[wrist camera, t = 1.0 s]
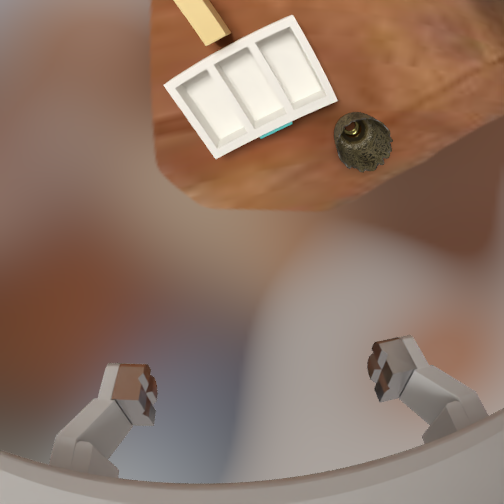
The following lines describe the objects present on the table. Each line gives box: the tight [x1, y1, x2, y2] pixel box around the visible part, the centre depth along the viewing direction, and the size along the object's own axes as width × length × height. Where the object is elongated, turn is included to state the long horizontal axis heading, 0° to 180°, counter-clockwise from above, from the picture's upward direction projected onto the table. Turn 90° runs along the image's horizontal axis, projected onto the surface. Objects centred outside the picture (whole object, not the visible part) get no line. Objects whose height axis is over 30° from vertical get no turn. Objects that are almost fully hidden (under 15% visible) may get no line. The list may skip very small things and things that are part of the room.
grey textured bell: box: [334, 112, 393, 172], centre depth 39 cm, size 8×7×8 cm
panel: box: [174, 0, 231, 46], centre depth 29 cm, size 2×7×8 cm, turn 29°
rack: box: [164, 15, 338, 159], centre depth 37 cm, size 18×13×4 cm
